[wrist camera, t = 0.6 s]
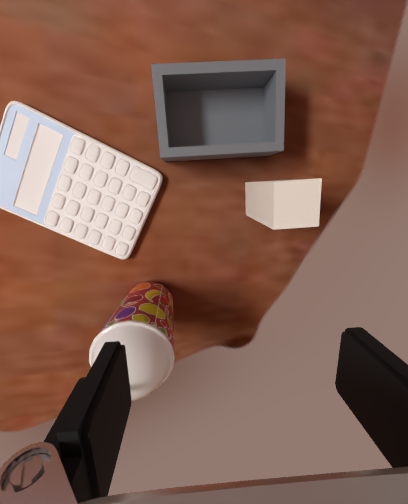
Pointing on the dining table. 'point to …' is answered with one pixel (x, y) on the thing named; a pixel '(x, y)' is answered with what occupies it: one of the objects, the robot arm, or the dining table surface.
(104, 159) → the calculator
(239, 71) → the grey open box
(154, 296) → the smoothie
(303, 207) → the post
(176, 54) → the dining table surface
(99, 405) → the robot arm
